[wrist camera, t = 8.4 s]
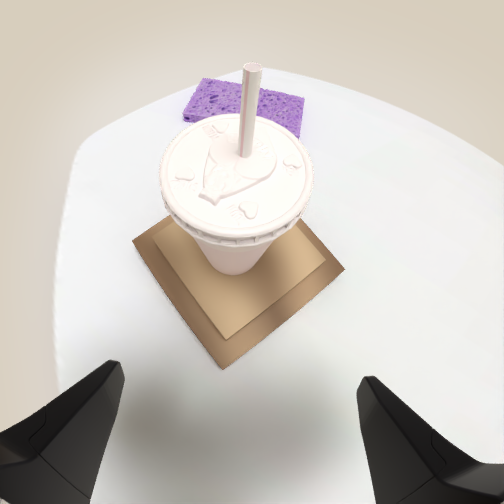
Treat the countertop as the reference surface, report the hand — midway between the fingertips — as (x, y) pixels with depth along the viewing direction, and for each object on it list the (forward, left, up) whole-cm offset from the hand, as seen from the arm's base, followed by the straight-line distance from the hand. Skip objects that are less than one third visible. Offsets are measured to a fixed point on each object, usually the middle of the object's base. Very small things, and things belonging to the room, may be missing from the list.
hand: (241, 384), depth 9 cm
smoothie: (+5, +7, -9) cm, 12 cm away
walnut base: (+5, +6, -12) cm, 14 cm away
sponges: (+17, +20, -12) cm, 29 cm away
